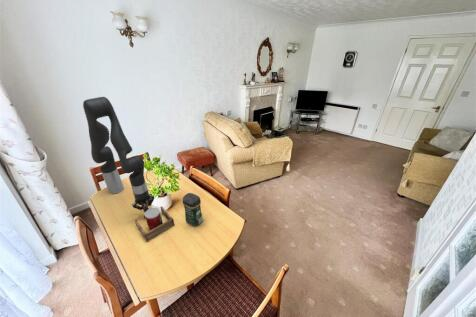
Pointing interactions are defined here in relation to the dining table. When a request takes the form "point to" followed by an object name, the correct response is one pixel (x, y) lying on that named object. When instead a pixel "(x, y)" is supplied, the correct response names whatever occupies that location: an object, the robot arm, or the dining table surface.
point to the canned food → (153, 218)
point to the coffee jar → (192, 209)
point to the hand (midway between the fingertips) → (146, 212)
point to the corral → (158, 229)
